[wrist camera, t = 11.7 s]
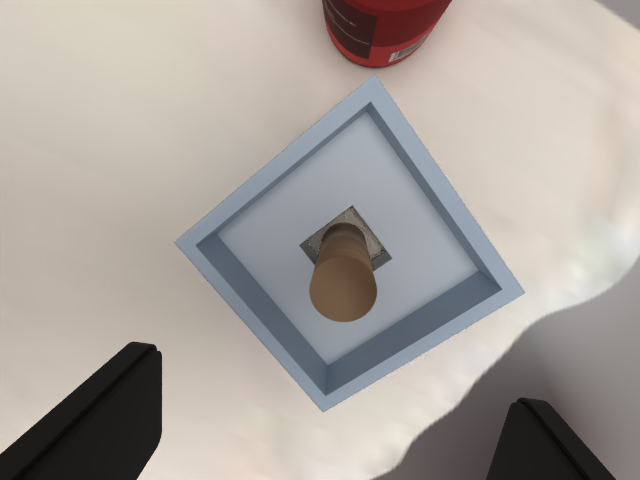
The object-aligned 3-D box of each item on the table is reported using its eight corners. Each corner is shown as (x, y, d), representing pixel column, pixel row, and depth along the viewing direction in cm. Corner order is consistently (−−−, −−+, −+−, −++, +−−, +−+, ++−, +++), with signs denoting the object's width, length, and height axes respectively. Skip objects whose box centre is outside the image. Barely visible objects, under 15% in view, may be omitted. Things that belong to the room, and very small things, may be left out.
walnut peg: (339, 271, 26) (336, 334, 17) (314, 239, 26) (295, 284, 16) (373, 247, 26) (390, 298, 16) (348, 213, 25) (349, 245, 16)
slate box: (327, 361, 29) (323, 412, 23) (211, 224, 26) (174, 242, 21) (484, 262, 25) (525, 292, 19) (367, 96, 23) (374, 73, 17)
